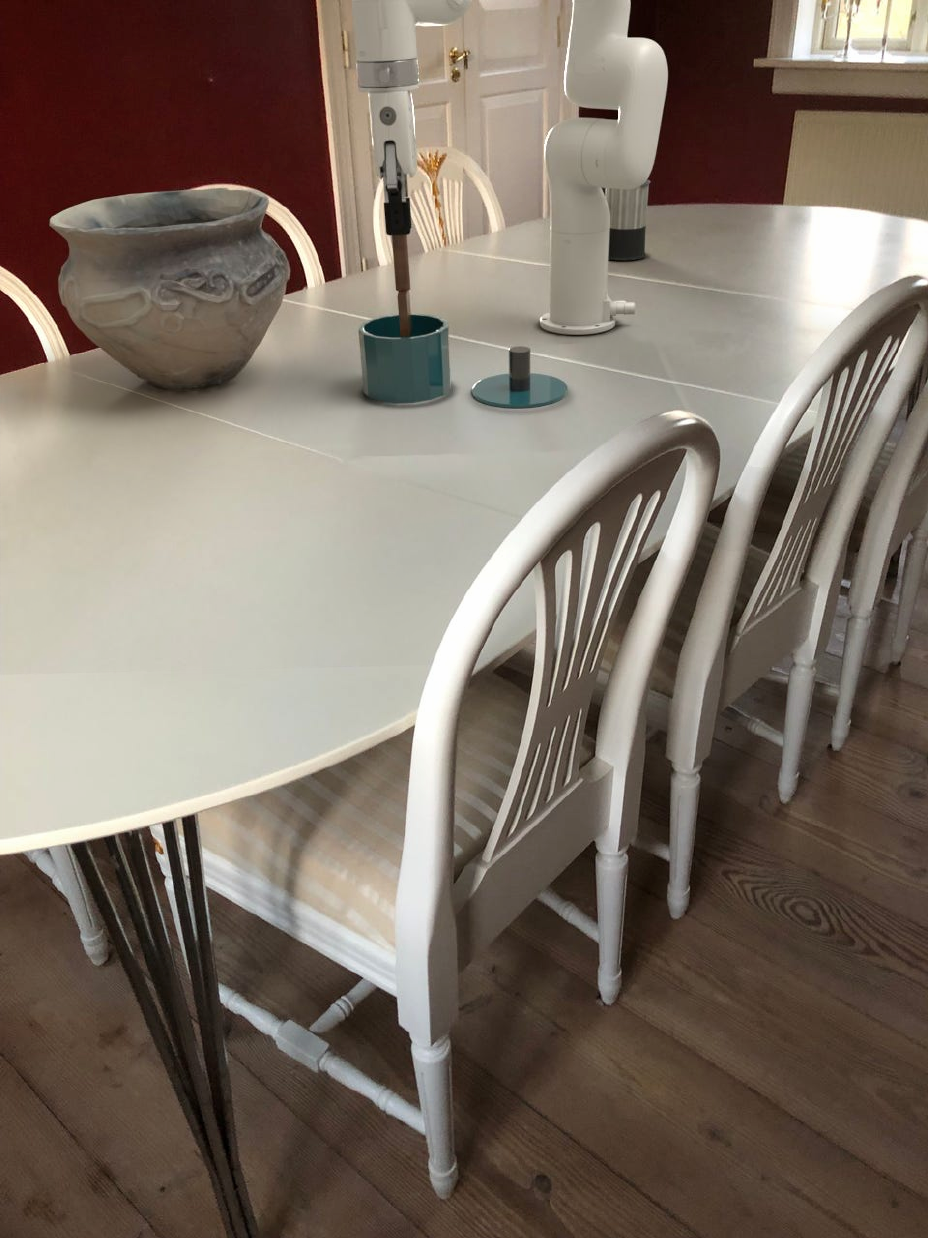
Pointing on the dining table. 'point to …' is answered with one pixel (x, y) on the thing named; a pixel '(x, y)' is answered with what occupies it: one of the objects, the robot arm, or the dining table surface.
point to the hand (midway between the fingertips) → (398, 230)
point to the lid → (519, 385)
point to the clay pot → (173, 281)
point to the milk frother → (627, 222)
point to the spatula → (402, 282)
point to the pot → (405, 359)
